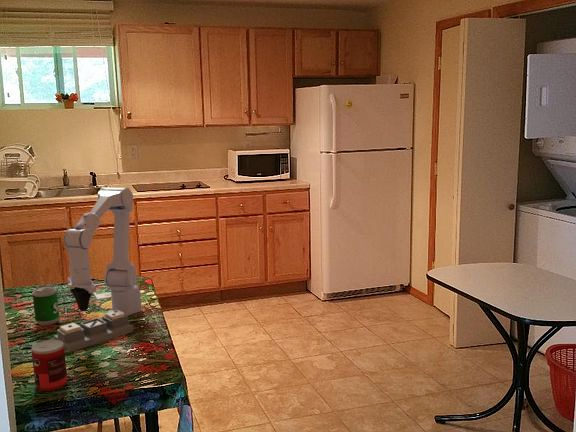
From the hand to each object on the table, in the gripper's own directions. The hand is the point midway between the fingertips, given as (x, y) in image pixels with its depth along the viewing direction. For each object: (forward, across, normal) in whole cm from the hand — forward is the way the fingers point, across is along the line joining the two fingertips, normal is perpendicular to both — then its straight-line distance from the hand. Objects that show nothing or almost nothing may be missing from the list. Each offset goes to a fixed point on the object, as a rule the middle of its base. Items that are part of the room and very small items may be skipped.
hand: (83, 310), depth 182 cm
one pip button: (+6, 0, -5) cm, 7 cm away
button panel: (+10, 0, +3) cm, 10 cm away
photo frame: (+10, -37, +30) cm, 49 cm away
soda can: (+10, -23, -2) cm, 25 cm away
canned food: (+10, +21, -20) cm, 31 cm away
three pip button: (+7, 0, +3) cm, 8 cm away
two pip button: (+6, 0, +10) cm, 12 cm away
